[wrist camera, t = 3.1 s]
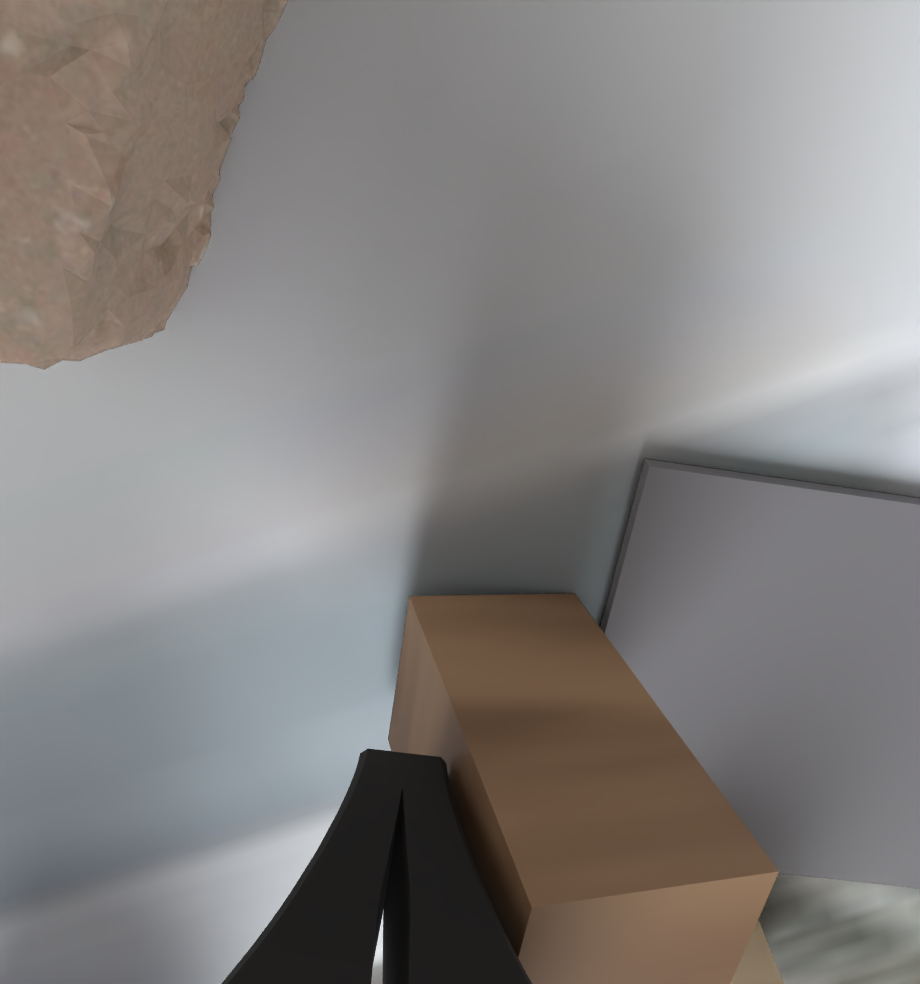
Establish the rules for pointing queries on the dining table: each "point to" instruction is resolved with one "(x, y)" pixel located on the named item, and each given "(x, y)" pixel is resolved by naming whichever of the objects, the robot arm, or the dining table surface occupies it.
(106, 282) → the brick
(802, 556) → the mat
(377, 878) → the robot arm
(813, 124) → the dining table surface
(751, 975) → the oak block
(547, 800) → the walnut block
